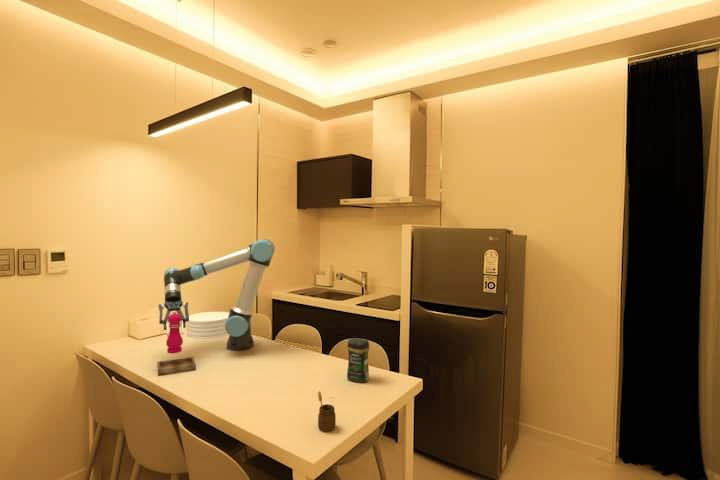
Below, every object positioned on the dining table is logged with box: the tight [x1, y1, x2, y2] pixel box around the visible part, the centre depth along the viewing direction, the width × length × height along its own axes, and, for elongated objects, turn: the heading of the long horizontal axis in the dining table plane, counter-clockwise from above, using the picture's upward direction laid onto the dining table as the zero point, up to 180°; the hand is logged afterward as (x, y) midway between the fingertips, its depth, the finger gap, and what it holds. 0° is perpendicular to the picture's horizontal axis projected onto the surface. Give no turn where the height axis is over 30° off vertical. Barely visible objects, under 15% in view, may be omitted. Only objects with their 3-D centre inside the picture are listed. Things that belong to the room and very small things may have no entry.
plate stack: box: [186, 311, 229, 340], centre depth 252 cm, size 28×28×12 cm
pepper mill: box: [165, 311, 184, 355], centre depth 187 cm, size 7×7×20 cm
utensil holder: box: [317, 390, 337, 432], centre depth 132 cm, size 6×6×12 cm
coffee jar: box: [346, 337, 370, 383], centre depth 175 cm, size 10×8×19 cm
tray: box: [157, 356, 197, 377], centre depth 187 cm, size 16×12×3 cm
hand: (175, 334), depth 184 cm, fingers closed on pepper mill, 6 cm apart
